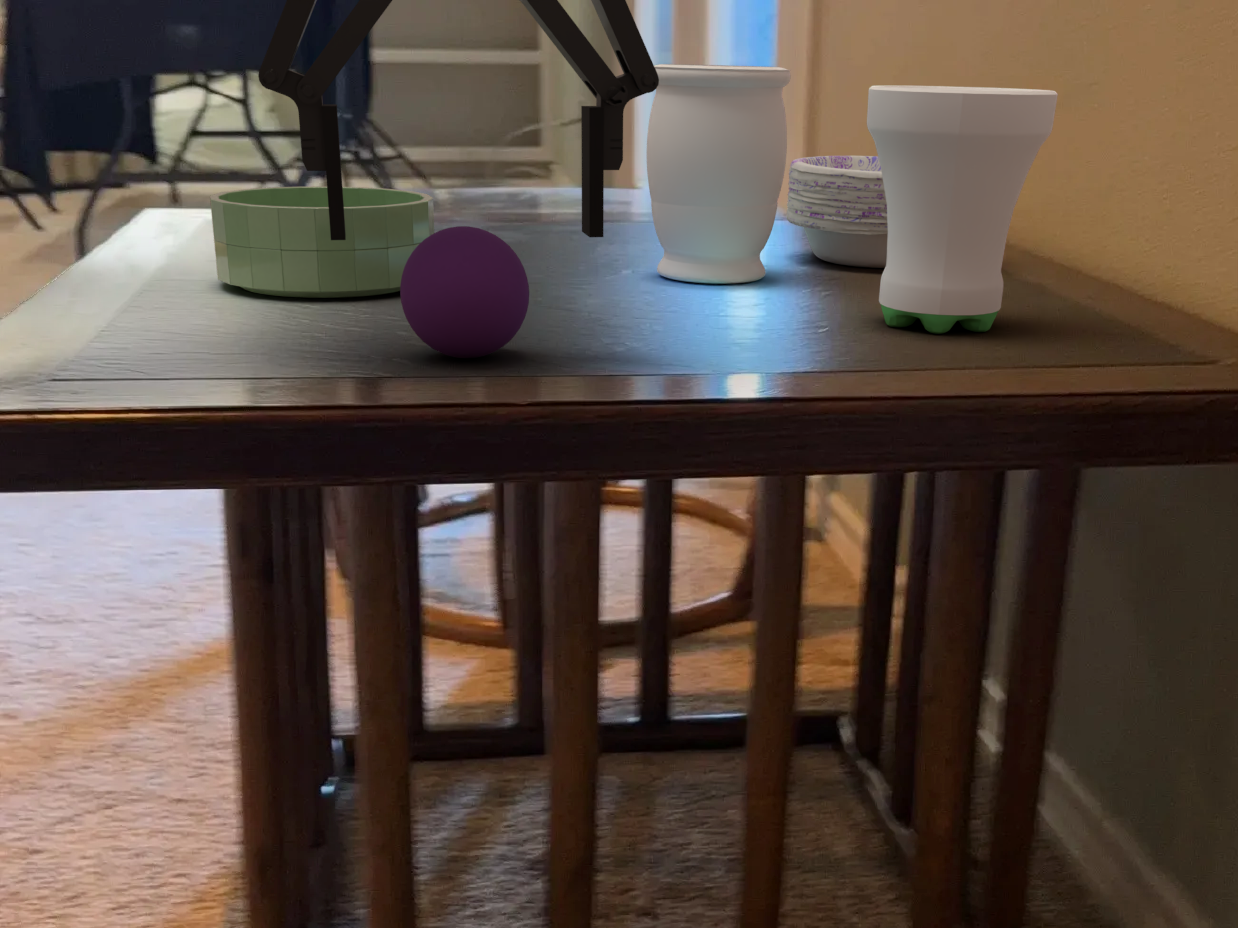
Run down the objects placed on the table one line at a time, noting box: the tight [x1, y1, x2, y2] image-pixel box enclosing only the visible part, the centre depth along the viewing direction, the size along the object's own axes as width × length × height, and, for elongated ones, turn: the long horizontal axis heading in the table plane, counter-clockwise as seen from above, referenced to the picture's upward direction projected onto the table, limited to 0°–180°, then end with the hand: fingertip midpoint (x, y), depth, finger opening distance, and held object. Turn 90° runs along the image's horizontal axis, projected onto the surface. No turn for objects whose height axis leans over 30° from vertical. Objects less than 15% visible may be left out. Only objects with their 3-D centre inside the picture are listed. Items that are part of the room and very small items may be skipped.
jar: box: [646, 63, 792, 285], centre depth 103 cm, size 11×10×15 cm
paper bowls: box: [786, 155, 888, 269], centre depth 115 cm, size 15×15×8 cm
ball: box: [399, 225, 530, 359], centre depth 75 cm, size 7×7×7 cm
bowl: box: [209, 185, 435, 299], centre depth 98 cm, size 15×15×6 cm
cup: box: [866, 84, 1059, 335], centre depth 86 cm, size 11×11×14 cm
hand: (467, 236), depth 74 cm, fingers open, 13 cm apart
